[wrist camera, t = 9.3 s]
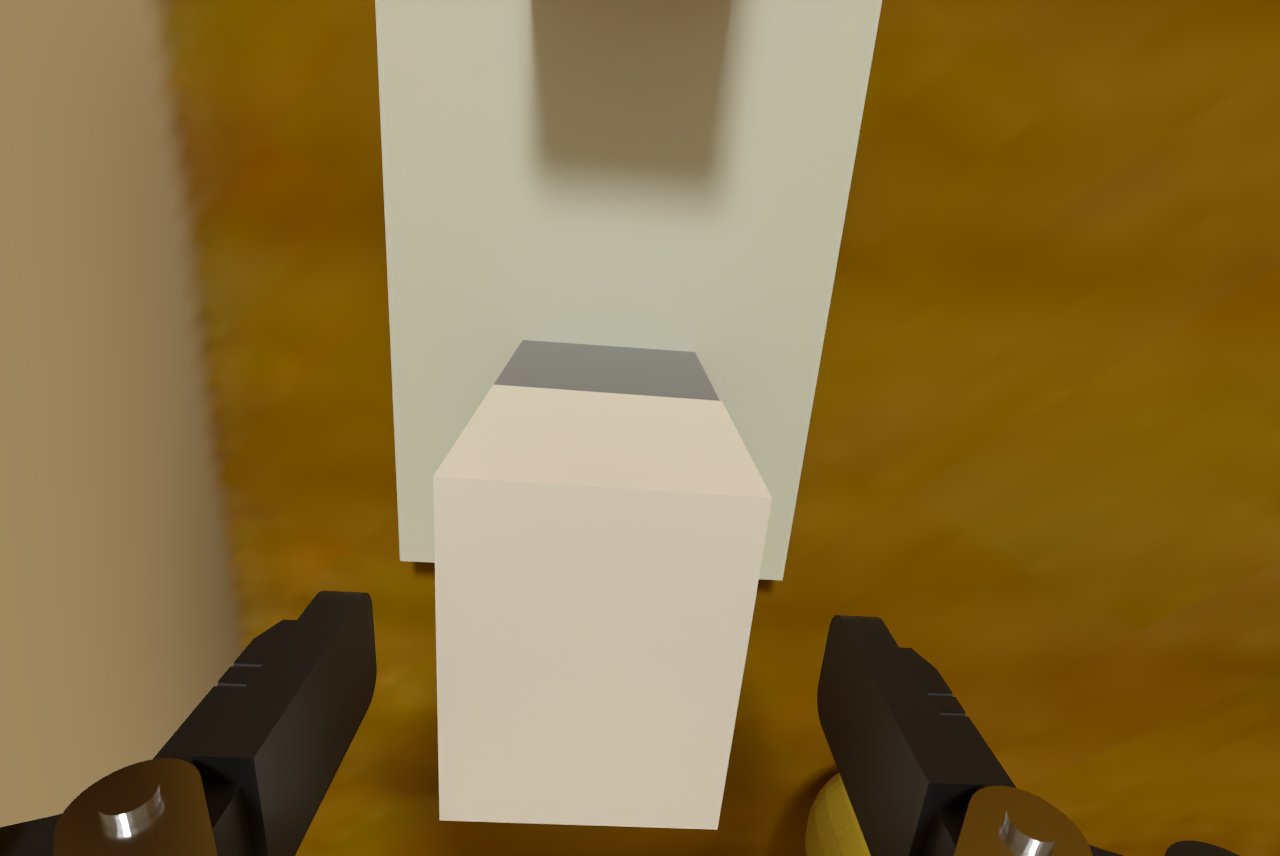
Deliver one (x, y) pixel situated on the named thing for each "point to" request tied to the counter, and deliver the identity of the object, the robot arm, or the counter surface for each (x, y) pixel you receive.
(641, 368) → the charcoal brick
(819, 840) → the lemon
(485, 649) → the cream brick
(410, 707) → the counter surface
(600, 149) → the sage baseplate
